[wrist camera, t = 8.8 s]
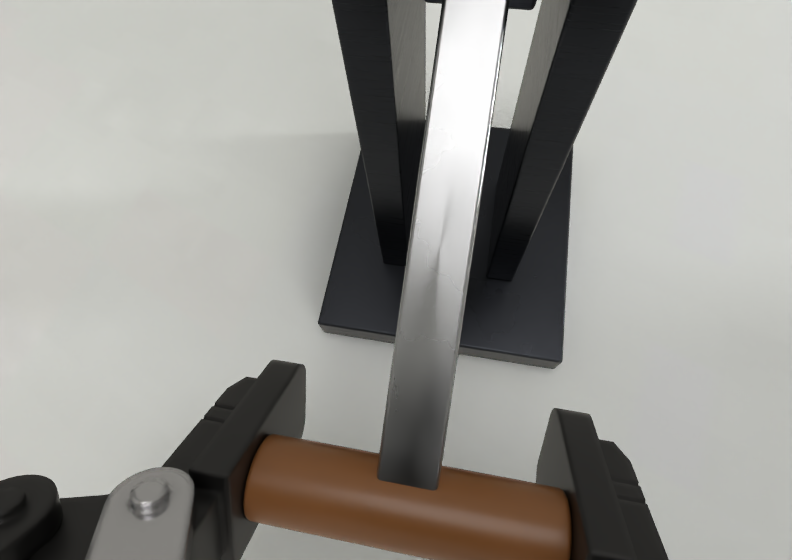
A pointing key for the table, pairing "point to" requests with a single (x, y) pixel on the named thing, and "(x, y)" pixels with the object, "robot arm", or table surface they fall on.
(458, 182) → the handle lever
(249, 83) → the table surface
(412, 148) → the crank stand
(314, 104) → the table surface
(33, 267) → the table surface
